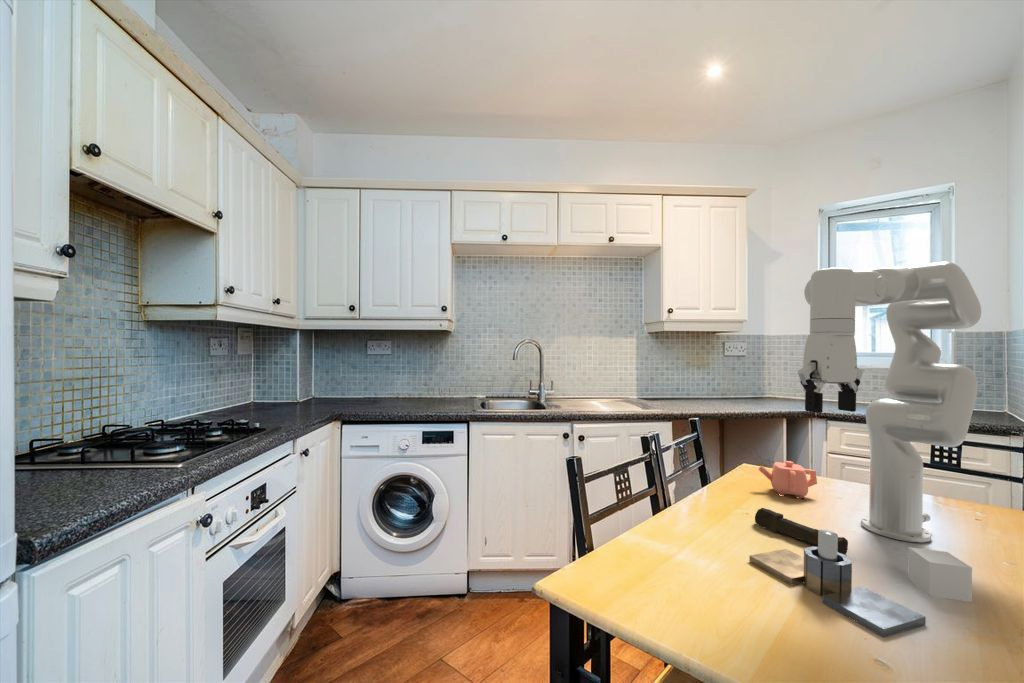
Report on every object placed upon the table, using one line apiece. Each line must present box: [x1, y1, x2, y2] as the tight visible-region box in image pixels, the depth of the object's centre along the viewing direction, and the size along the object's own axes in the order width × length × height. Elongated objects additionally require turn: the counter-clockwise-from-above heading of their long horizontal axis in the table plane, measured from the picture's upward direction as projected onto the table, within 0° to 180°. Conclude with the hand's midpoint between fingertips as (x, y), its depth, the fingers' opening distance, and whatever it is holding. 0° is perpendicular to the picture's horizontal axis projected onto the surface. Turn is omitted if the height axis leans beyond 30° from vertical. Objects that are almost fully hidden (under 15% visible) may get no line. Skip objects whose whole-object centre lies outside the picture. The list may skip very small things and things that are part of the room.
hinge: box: [748, 545, 927, 638], centre depth 77 cm, size 10×24×6 cm, turn 19°
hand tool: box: [754, 507, 849, 556], centre depth 98 cm, size 19×4×5 cm, turn 27°
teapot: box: [757, 460, 818, 499], centre depth 129 cm, size 12×12×10 cm
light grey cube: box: [907, 546, 973, 603], centre depth 78 cm, size 6×6×6 cm
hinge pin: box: [818, 529, 839, 562], centre depth 77 cm, size 3×3×10 cm
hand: (830, 411), depth 89 cm, fingers open, 9 cm apart
